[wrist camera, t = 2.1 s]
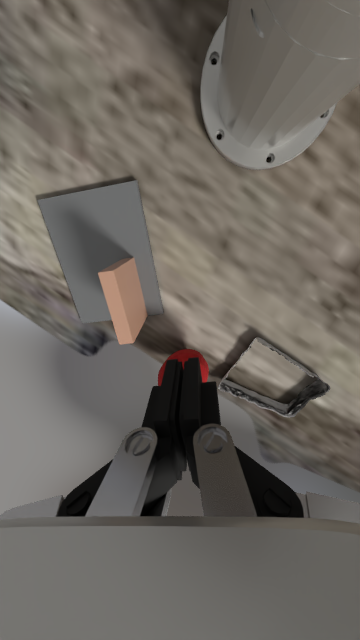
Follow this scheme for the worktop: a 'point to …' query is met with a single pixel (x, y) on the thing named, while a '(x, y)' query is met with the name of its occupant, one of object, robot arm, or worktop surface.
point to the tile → (124, 299)
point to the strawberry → (183, 356)
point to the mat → (101, 243)
